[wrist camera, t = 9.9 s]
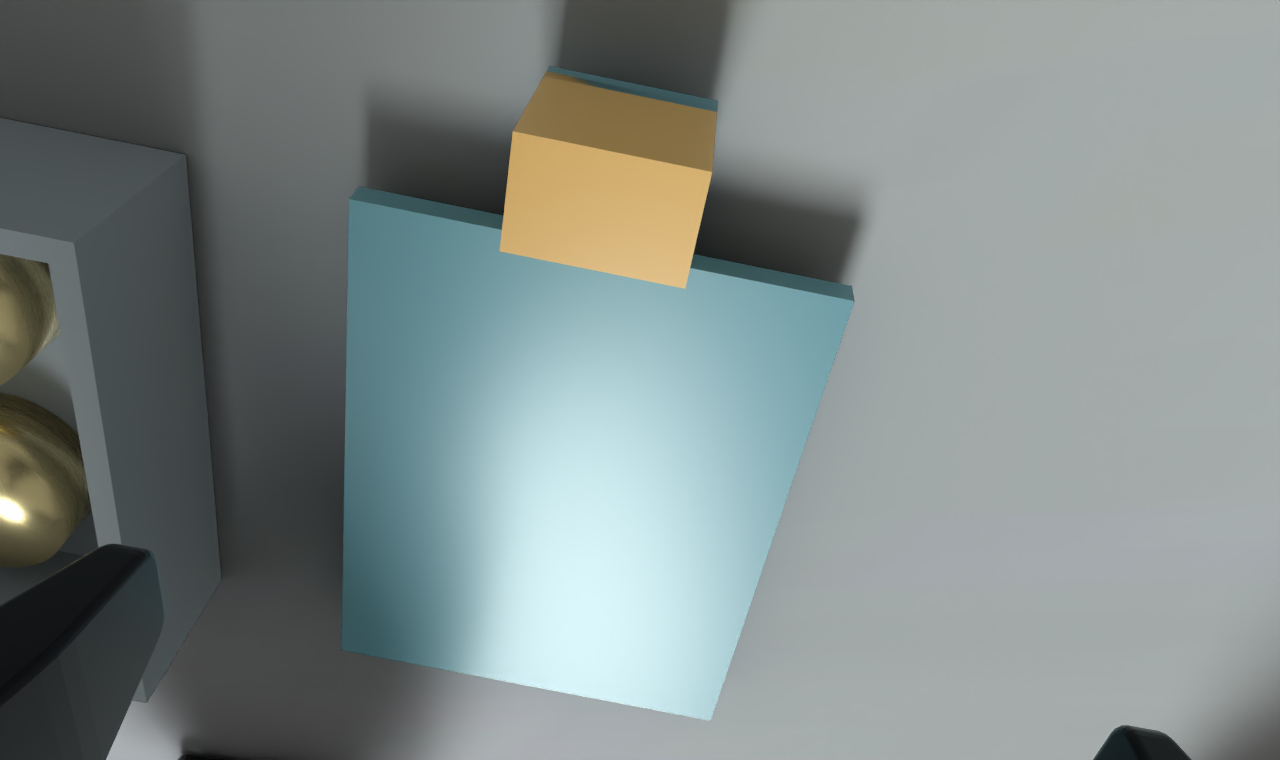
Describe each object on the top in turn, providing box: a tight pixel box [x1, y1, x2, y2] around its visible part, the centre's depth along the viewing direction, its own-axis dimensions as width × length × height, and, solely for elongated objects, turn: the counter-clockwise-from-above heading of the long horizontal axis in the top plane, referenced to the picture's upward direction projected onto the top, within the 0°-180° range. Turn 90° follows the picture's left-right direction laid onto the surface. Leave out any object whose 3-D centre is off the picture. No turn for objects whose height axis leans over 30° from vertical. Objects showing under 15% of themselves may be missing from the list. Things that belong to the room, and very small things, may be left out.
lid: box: [342, 66, 854, 721], centre depth 21 cm, size 16×10×4 cm, turn 170°
